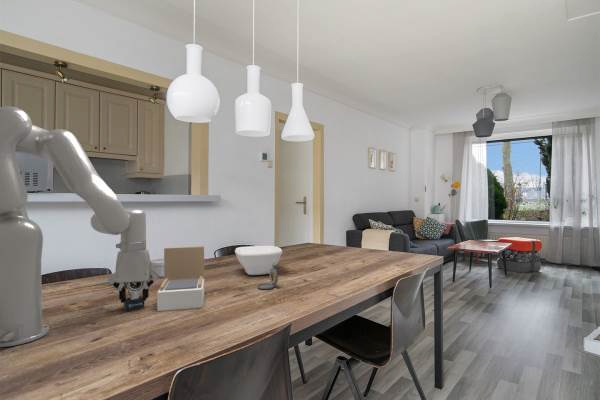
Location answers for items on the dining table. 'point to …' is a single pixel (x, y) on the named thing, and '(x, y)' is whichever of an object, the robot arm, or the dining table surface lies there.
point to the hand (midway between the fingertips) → (134, 300)
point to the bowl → (258, 258)
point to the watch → (134, 296)
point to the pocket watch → (272, 278)
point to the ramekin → (158, 266)
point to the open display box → (182, 279)
